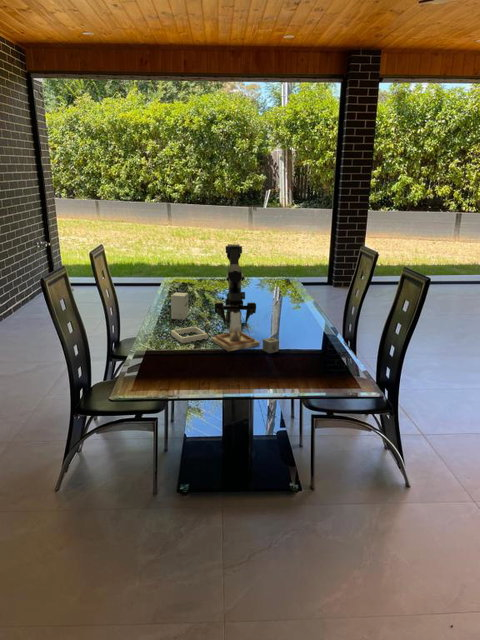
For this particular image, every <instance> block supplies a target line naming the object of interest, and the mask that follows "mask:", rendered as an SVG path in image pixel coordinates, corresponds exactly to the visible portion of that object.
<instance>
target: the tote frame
mask: <svg viewBox="0 0 480 640" xmlns="http://www.w3.org/2000/svg"><path fill="white" fill-rule="evenodd" d="M170 332H171V334H170V335H171V337H173V338H174V339H176V340H177V341H179V342H180V343H181V344H187V343H192V342H191V341H193V342H197V341H196V340H199V341H203V340H202V339H205V340H208V333H207V332H206V331H203V330H202V329H200V328H199V327H198V326H190V327H184V328H178V329H171V330H170ZM190 332H192V333H196V335H195V334H194V335H189V336H182V335H185V334H184V333H186V334H191V333H190ZM197 333H198V334H197ZM179 334H180V335H179ZM186 342H187V343H186Z"/></svg>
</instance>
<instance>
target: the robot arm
mask: <svg viewBox="0 0 480 640" xmlns="http://www.w3.org/2000/svg"><path fill="white" fill-rule="evenodd" d="M225 254H226V258H227V260H228V261H229V267H228V268H227V270H228V271H227V272H226V281H227V282H228V293H227V294H226V298H225V305H224V302H215V303H214V314H217V315H218V316H220V319H222V322H223V325H224V326H226V321H227V322H229V323H230V311H244V310H245V311H246V312H245V322H244V325H245V326H247V324H248V321H249V318H250V316H252V315H253V314H256V311H257V303H256V302H247V304H246V305H244V301H243V300H246V292H245V291H242V284H243V282H244V280H245V275H244V272H242V268H241V266H239V263H240V262H239V260H240V259H241V256H242V255H241V254H243V246H242V245H240V243H232V244H230V243H228V244H227V245H225ZM225 311H226V312H225ZM242 320H243V319H241V322H242Z"/></svg>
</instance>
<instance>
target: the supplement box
mask: <svg viewBox="0 0 480 640" xmlns="http://www.w3.org/2000/svg"><path fill="white" fill-rule="evenodd" d="M170 309H171V310H170V312H171V318H170V319H172V320H181V319H182V321H183V320H184V321H185V320H186V318H188V317H189V293H188V292H174V293H172V294H171V295H170ZM187 316H188V317H187Z"/></svg>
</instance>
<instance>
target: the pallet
mask: <svg viewBox="0 0 480 640" xmlns="http://www.w3.org/2000/svg"><path fill="white" fill-rule="evenodd" d="M211 341H212V342H213V343H214V344H216V345H218V346H219V347H220V348H222V349H224V350H226V351H227V352H232V351H236V350H237V351H238V350H242V349H248V348H252V347H259V346H260V345H261V344H260V343H261V342H260V341H259V340H256V339H255V338H254V337H251V336H250V335H248V334H246V333H244V332H243V331H241V340H240V341H237V342H234V341H230V332H226V333H222V334H217V335H216V336H212V337H211Z"/></svg>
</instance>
